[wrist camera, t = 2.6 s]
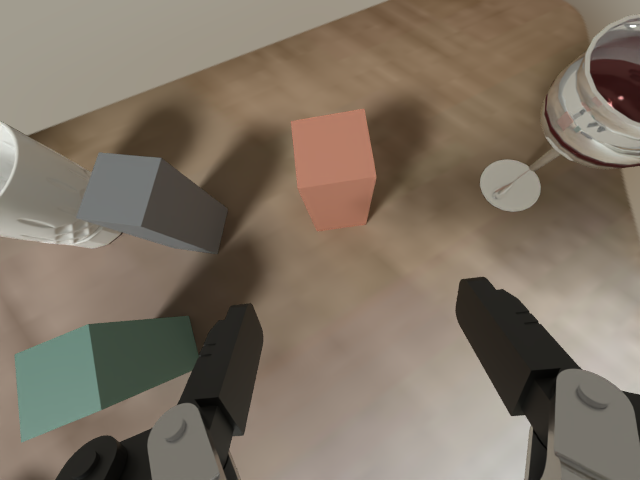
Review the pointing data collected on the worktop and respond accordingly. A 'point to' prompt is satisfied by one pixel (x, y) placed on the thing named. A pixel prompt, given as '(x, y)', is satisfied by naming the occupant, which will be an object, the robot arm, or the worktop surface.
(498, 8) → the worktop surface
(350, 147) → the red pillar
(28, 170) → the white cup
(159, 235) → the charcoal pillar
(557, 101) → the wineglass
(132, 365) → the green pillar
